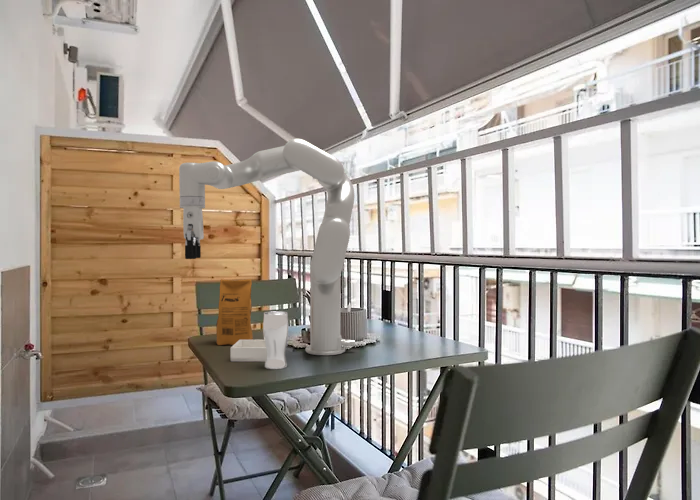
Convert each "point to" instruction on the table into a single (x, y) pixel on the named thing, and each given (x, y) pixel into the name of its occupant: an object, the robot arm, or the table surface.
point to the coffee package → (234, 312)
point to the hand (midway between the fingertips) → (193, 258)
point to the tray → (248, 350)
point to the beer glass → (275, 338)
